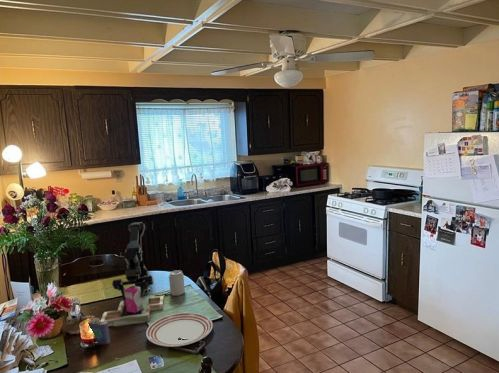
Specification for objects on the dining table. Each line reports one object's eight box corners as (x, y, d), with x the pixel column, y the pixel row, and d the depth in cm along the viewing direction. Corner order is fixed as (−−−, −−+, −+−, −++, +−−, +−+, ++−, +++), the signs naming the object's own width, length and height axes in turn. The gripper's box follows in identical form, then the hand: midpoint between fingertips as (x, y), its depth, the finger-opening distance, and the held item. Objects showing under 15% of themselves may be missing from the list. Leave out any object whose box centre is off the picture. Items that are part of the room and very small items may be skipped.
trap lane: (108, 307, 187) (108, 301, 187) (163, 299, 192) (163, 294, 191) (100, 328, 166) (99, 322, 166) (162, 319, 171) (161, 313, 170)
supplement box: (134, 307, 185) (132, 285, 184) (143, 309, 183) (141, 286, 181) (126, 312, 180) (123, 289, 179) (135, 314, 178) (132, 291, 176)
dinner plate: (209, 314, 174) (208, 307, 173) (216, 345, 147) (216, 338, 146) (148, 324, 168) (147, 317, 167) (145, 358, 141) (144, 350, 141)
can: (186, 290, 201) (184, 269, 200) (182, 296, 194) (180, 274, 192) (173, 290, 202) (171, 269, 201) (168, 296, 195) (166, 274, 193)
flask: (111, 341, 155) (108, 317, 153) (107, 345, 152) (103, 321, 150) (92, 339, 157) (89, 315, 156) (88, 343, 154) (84, 319, 153)
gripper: (110, 264, 180) (109, 295, 171) (150, 259, 184) (150, 289, 174) (115, 274, 189) (114, 304, 180) (153, 269, 192) (153, 298, 183)
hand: (133, 298), depth 179 cm, fingers closed on supplement box, 8 cm apart
